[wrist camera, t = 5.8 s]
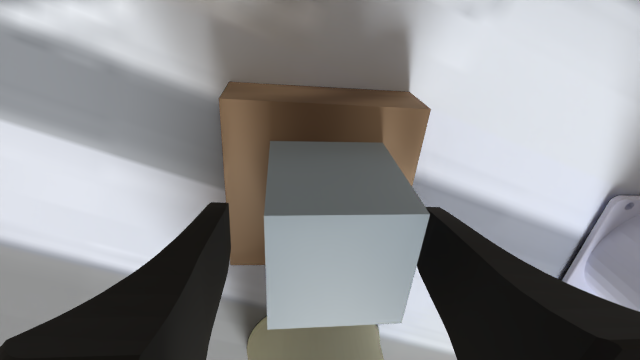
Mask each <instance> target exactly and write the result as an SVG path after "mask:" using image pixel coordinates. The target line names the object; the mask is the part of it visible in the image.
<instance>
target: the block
mask: <svg viewBox="0 0 640 360" xmlns="http://www.w3.org/2000/svg"><path fill="white" fill-rule="evenodd" d="M429 216H430V213H429V212H428V210H427V209H426V207H425V206H424V204H423V203H422V201H421V200H420V198H419V197H418V195H417V194H416V192H415V191H414V189H413V188H412V186H411V185H410V183H409V182H408V180H407V179H406V177H405V175H404V174H403V172H402V171H401V169H400V168H399V166H398V165H397V163H396V162H395V160H394V159H393V157H392V156H391V154H390V153H389V151H388V150H387V148H386V147H385V145H384V144H383V143H373V142H305V141H270V149H269V161H268V173H267V185H266V197H265V209H264V234H265V267H266V300H267V330H270V329H291V328H312V327H333V326H354V325H375V324H396V323H402V319H403V315H404V312H405V308H406V304H407V300H408V296H409V293H410V289H411V285H412V281H413V277H414V274H415V270H416V266H417V262H418V258H419V255H420V251H421V247H422V243H423V239H424V235H425V232H426V228H427V224H428V220H429Z"/></svg>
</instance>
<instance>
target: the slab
mask: <svg viewBox="0 0 640 360" xmlns="http://www.w3.org/2000/svg"><path fill="white" fill-rule="evenodd" d="M219 107H220V121H221V136H222V150H223V165H224V179H225V193H226V203H229V218H230V236H231V253H230V265H265V234H264V209H265V197H266V185H267V173H268V161H269V149H270V141H305V142H373V143H383V144H384V145H385V147H386V148H387V150H388V151H389V153H390V154H391V156H392V157H393V159H394V160H395V162H396V163H397V165H398V166H399V168H400V169H401V171H402V172H403V174H404V175H405V177H406V179H407V180H408V182H409V183H410V185H411V186H412V185H413V180H414V176H415V172H416V168H417V164H418V160H419V156H420V152H421V147H422V143H423V139H424V135H425V131H426V127H427V123H428V119H429V115H430V110H431V109H430V108H429V107H427V106H426V105H425V104H424V103H422V102H421V101H420V100H419V99H418V98H416V97H415V96H414V95H413V94H411V93H410V92H403V91H385V90H367V89H349V88H331V87H313V86H295V85H277V84H259V83H241V82H229V83H228V85H227V86H226V88H225V90H224V91H223V93H222V94H221V96H220V98H219Z"/></svg>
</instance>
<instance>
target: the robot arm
mask: <svg viewBox="0 0 640 360" xmlns="http://www.w3.org/2000/svg"><path fill="white" fill-rule="evenodd" d="M426 209H427V210H428V212H429V213H430V216H429V220H428V224H427V228H426V232H425V235H424V239H423V243H422V247H421V251H420V255H419V258H418V262H417V267H418V270H419V273H420V275H421V277H422V280H423V282H424V284H425V286H426V288H427V290H428V292H429V294H430V297H431V299H432V301H433V303H434V305H435V307H436V309H437V311H438V313H439V315H440V317H441V319H442V322H443V324H444V326H445V328H446V330H447V333H448V335H449V338H450V340H451V343H452V346H453V349H454V352H455V354H456V357H457V360H640V196H624V195H620V196H616V197H614V198H612V199H611V200H610V201H609V203H608V204H607V206H606V208H605V209H604V211H603V213H602V214H601V216H600V218H599V219H598V221H597V223H596V224H595V226H594V228H593V229H592V231H591V233H590V234H589V236H588V238H587V239H586V241H585V243H584V244H583V246H582V248H581V249H580V251H579V253H578V254H577V256H576V258H575V259H574V261H573V263H572V264H571V266H570V268H569V269H568V271H567V273H566V274H565V276H564V278H563V280H562V281H561V280H559V279H557V278H555V277H552V276H550V275H548V274H546V273H544V272H542V271H541V270H539V269H537V268H535V267H533V266H531V265H529V264H527V263H526V262H524V261H522V260H520V259H518V258H517V257H515V256H513V255H512V254H510V253H508V252H507V251H505V250H504V249H502V248H500V247H499V246H497V245H496V244H494V243H492V242H491V241H489V240H488V239H486V238H485V237H483V236H482V235H480V234H479V233H477V232H476V231H475V230H473V229H472V228H470V227H469V226H467V225H466V224H464V223H463V222H461V221H460V220H459V219H457V218H456V217H454V216H453V215H451V214H450V213H448V212H446V211H445V210H443V209H441V208H440V207H426ZM230 253H231V236H230V218H229V203H214V202H211V203H210V204H209V205H207V207H206V208H205V209H204V210H203V211H202V212H201V213H200V214H199V215H198V216H197V217H196V218H195V219H194V221H193V222H192V223H191V224H190V225H189V226H188V227H187V228H186V229H185V230H184V231H183V232H182V233H181V234H180V235H179V236H178V237H176V238H175V239H174V240H173V241H172V242H171V243H170V244H169V245H168V246H166V247H165V248H164V249H163V250H162V251H161V252H160V253H159V254H157V255H156V256H155V257H154V258H152V259H151V260H150V261H149V262H147V263H146V264H145V265H143V266H142V267H141V268H139V269H138V270H136V271H135V272H134V273H132V274H131V275H129V276H128V277H126V278H125V279H123V280H121V281H120V282H118V283H117V284H115V285H114V286H112V287H110V288H109V289H107V290H106V291H104V292H102V293H101V294H99V295H97V296H95V297H94V298H92V299H90V300H88V301H87V302H85V303H83V304H81V305H79V306H77V307H75V308H73V309H72V310H70V311H68V312H66V313H64V314H62V315H60V316H58V317H56V318H54V319H52V320H49V321H47V322H45V323H43V324H41V325H39V326H36V327H34V328H32V329H30V330H28V331H26V332H23V333H21V334H19V335H17V336H14V337H12V338H10V339H7V340H6V341H5V342H4V343H3V345H2V346H1V347H0V360H206V357H207V351H208V345H209V340H210V336H211V332H212V328H213V324H214V321H215V317H216V313H217V310H218V306H219V303H220V299H221V295H222V292H223V288H224V284H225V281H226V277H227V273H228V267H229V260H230Z"/></svg>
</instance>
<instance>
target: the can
mask: <svg viewBox="0 0 640 360" xmlns="http://www.w3.org/2000/svg"><path fill="white" fill-rule="evenodd" d="M247 355H248V360H384V358H383V354H382V350H381V346H380V336H379V331H378V328H377V326H376V324H375V325H354V326H333V327H312V328H291V329H270V330H267V316H266V317H265V318H264V319H262V320H261V321H260V322H259V323H258V324H257V325H256V327H255V328H254V329H253V331H252V333H251V335H250V337H249V340H248V344H247Z"/></svg>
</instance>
